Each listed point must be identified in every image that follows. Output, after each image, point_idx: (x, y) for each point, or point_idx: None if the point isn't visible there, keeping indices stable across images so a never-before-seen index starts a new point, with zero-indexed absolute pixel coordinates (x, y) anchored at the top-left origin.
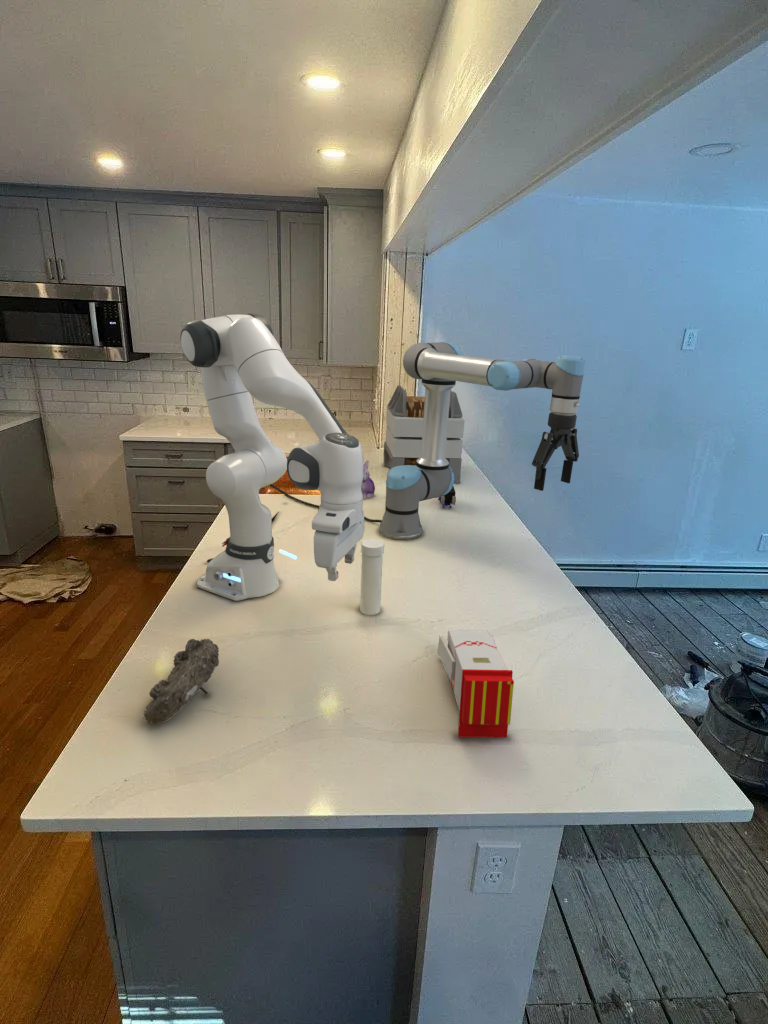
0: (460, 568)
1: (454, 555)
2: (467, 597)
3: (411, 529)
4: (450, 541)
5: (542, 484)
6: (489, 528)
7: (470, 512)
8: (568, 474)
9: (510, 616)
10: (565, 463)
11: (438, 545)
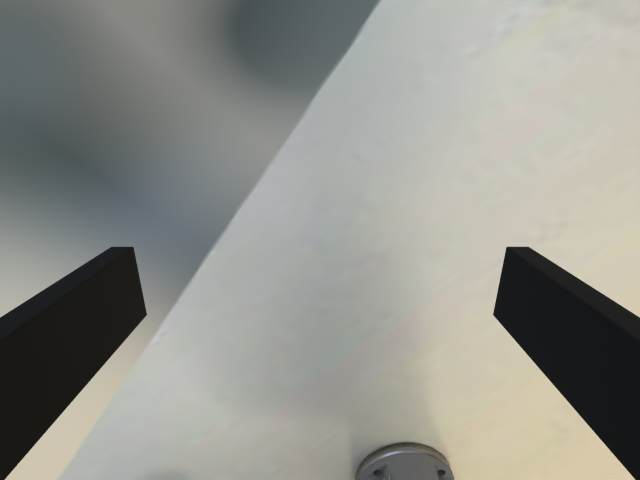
0: (459, 296)
1: (409, 347)
2: (585, 189)
3: (422, 468)
4: (351, 398)
5: (564, 273)
6: (205, 399)
7: (170, 476)
8: (88, 296)
9: (608, 54)
10: (14, 432)
11: (392, 398)
